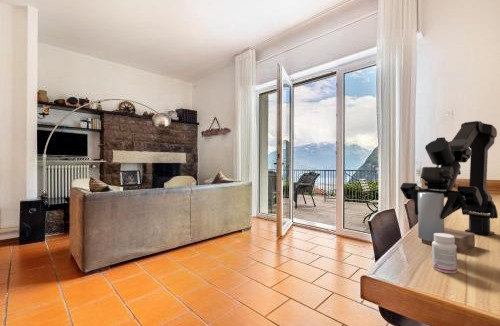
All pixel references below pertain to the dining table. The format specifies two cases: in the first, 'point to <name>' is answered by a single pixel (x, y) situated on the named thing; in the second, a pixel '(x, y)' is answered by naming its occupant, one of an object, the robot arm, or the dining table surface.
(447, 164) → the robot arm
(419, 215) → the grey cylinder
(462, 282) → the dining table surface
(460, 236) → the walnut box
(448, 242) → the pill bottle
